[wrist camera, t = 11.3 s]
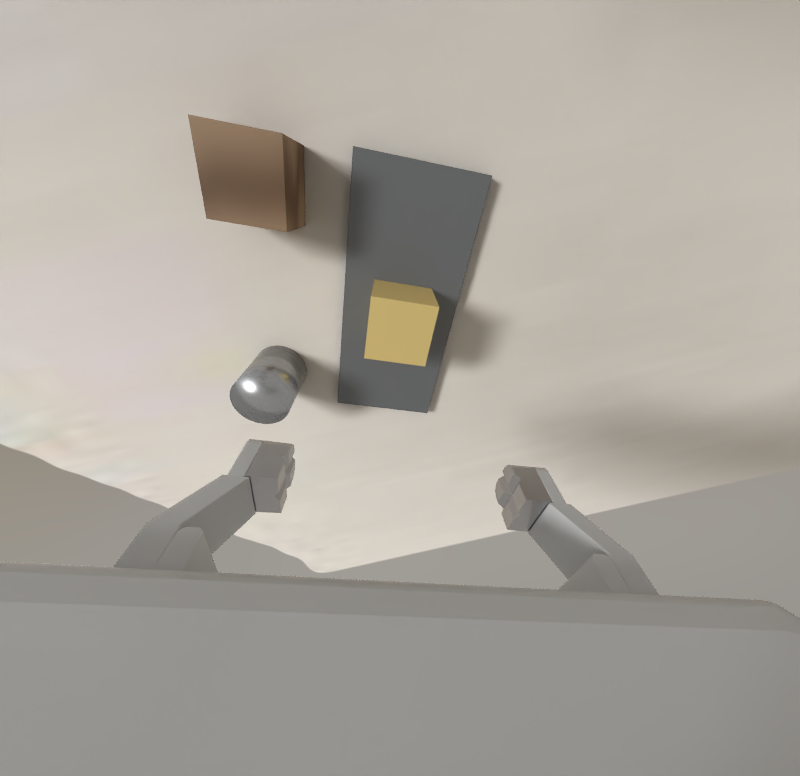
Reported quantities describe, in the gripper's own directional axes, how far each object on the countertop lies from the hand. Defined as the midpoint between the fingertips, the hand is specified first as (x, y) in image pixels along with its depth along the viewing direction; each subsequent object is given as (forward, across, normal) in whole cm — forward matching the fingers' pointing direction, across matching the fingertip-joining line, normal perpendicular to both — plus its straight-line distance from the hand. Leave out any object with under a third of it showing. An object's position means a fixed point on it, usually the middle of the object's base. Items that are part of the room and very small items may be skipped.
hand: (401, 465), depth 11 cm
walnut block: (+19, +11, -8) cm, 23 cm away
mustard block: (+18, 0, 0) cm, 18 cm away
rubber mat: (+19, 0, 0) cm, 19 cm away
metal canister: (+19, +11, +8) cm, 23 cm away
